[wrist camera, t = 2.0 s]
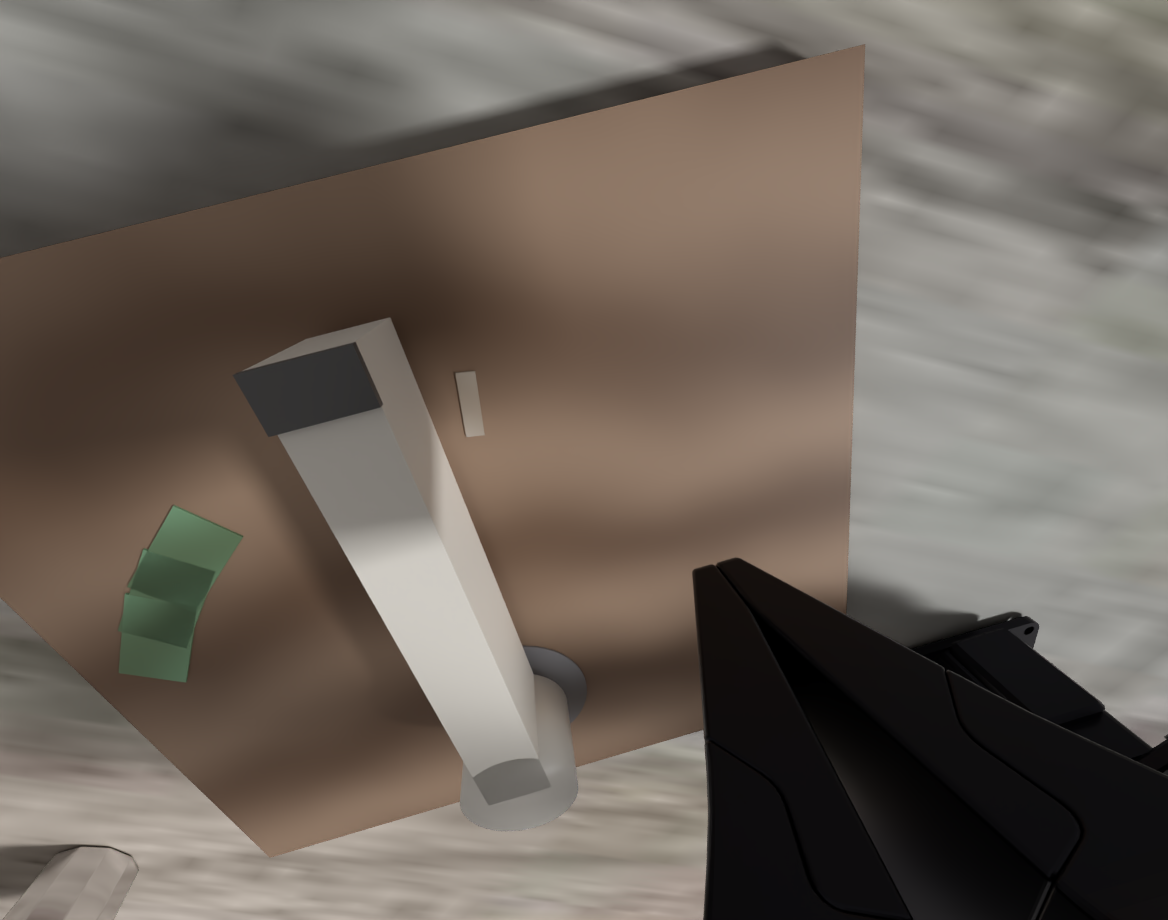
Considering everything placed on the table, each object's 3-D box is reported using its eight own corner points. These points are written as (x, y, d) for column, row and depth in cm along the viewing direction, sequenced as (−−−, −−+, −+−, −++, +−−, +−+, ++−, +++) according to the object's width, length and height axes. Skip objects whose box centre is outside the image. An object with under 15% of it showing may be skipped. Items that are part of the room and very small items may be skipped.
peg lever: (576, 726, 18) (590, 817, 15) (485, 753, 18) (481, 850, 15) (423, 308, 11) (394, 333, 8) (272, 347, 11) (189, 385, 8)
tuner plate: (822, 660, 22) (845, 690, 20) (285, 817, 21) (268, 860, 19) (824, 66, 12) (868, 42, 11) (-185, 316, 11) (-288, 328, 10)
